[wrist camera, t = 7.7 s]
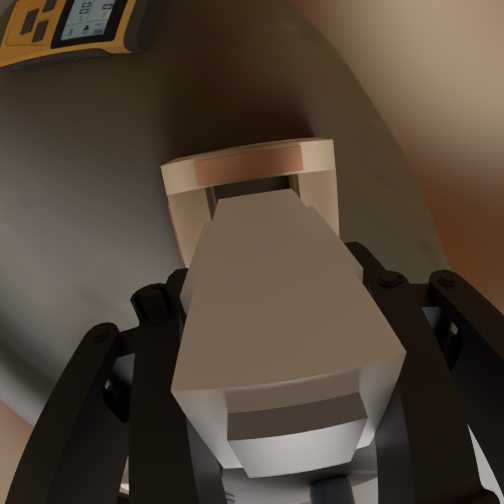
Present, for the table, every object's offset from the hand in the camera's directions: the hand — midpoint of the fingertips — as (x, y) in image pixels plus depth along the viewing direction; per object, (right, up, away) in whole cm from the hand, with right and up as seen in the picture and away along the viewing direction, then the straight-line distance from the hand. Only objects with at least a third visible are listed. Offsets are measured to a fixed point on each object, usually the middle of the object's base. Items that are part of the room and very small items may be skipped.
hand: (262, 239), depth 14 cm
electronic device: (-15, +19, -1) cm, 24 cm away
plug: (0, +1, +1) cm, 2 cm away
